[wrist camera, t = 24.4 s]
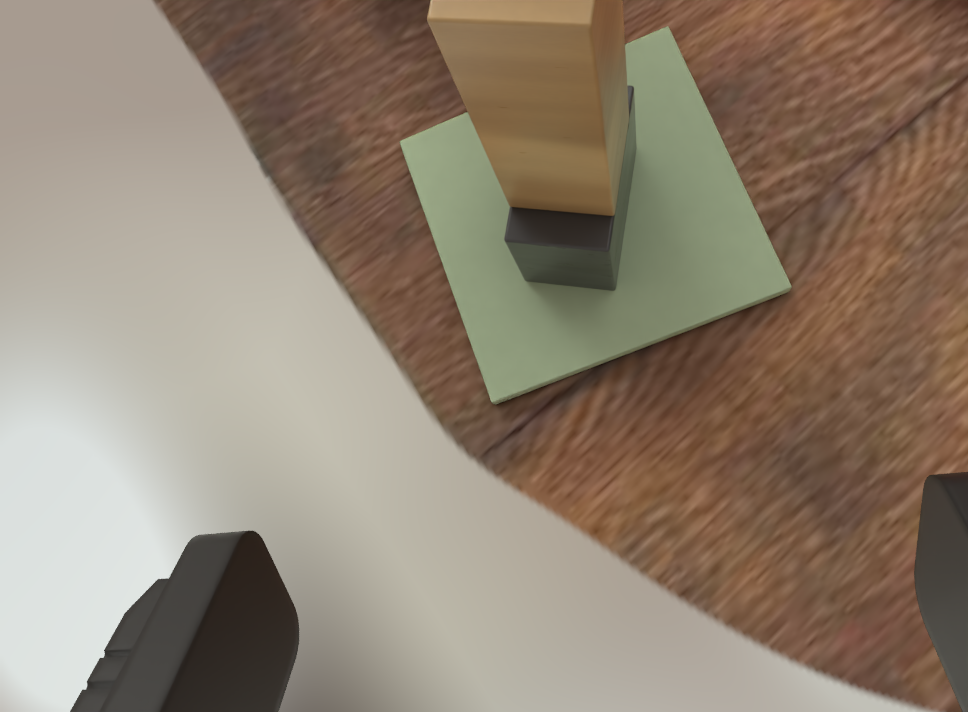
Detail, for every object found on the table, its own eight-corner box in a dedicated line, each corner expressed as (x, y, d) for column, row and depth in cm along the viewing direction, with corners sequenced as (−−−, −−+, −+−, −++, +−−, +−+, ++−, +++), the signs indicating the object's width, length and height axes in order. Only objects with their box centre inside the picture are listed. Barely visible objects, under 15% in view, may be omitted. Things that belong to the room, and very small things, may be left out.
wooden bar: (548, 140, 28) (463, -173, 15) (636, 147, 27) (624, -175, 15) (524, 282, 27) (414, 71, 15) (615, 291, 26) (582, 80, 14)
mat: (668, 33, 28) (668, 25, 28) (790, 291, 26) (792, 287, 25) (402, 147, 30) (398, 140, 29) (494, 405, 27) (491, 403, 26)
